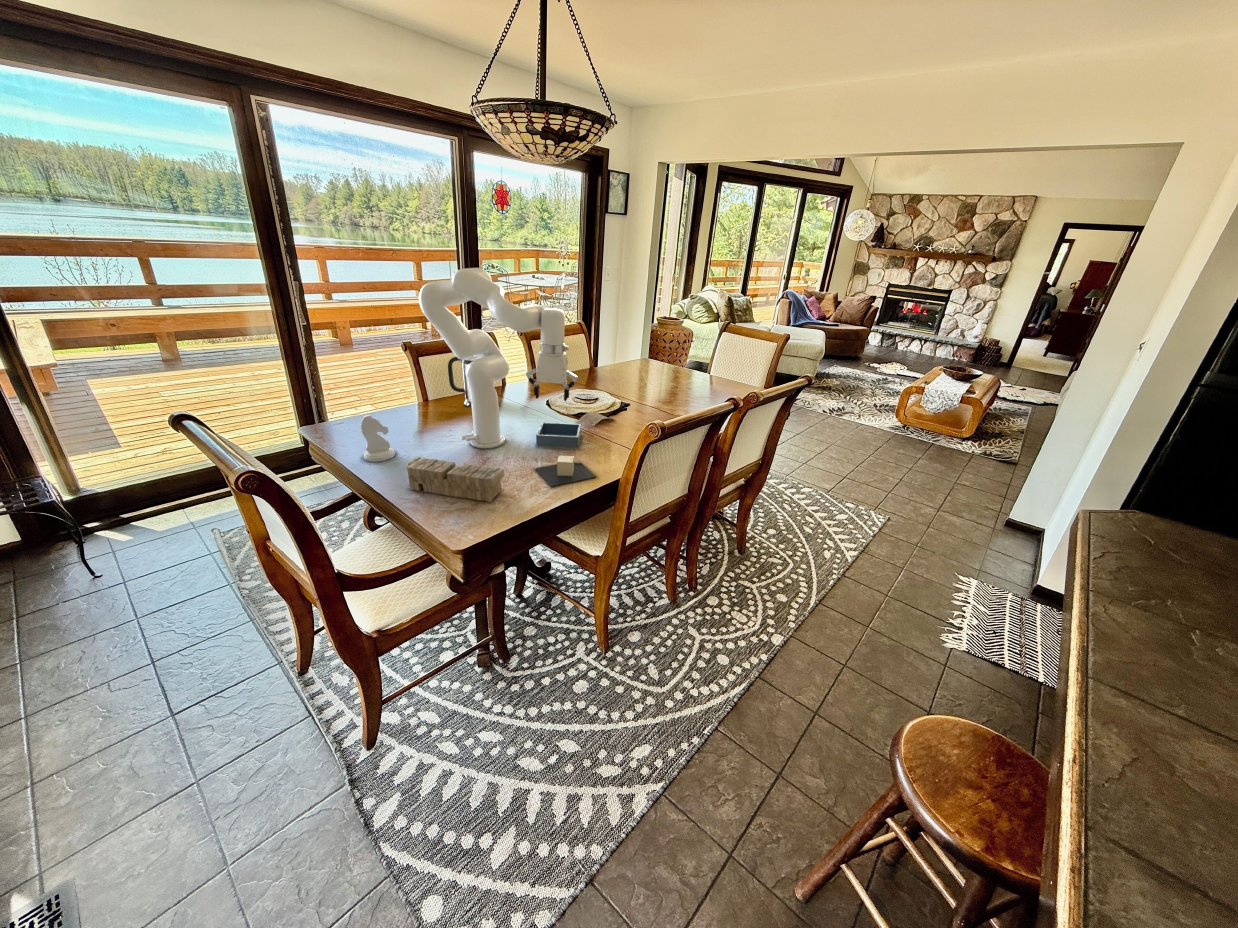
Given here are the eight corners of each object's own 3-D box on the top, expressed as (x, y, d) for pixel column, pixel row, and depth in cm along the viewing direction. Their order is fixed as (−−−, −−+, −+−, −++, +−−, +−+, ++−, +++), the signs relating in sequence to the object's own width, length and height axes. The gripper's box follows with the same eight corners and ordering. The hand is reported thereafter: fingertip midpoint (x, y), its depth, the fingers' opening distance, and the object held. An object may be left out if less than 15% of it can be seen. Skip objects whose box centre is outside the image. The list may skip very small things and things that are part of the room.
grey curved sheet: (592, 428, 199) (592, 422, 198) (575, 422, 205) (575, 416, 204) (615, 420, 209) (616, 415, 208) (599, 414, 215) (599, 409, 214)
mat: (551, 487, 152) (551, 486, 152) (535, 469, 163) (535, 468, 162) (596, 477, 159) (596, 476, 159) (578, 461, 170) (578, 460, 170)
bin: (536, 447, 179) (536, 435, 177) (542, 434, 191) (541, 422, 189) (578, 449, 179) (578, 437, 177) (581, 435, 191) (581, 424, 189)
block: (557, 475, 158) (557, 461, 156) (559, 468, 163) (559, 455, 161) (572, 476, 158) (572, 462, 156) (573, 469, 163) (574, 456, 161)
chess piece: (397, 458, 165) (390, 417, 159) (365, 463, 160) (357, 421, 154) (392, 448, 173) (385, 408, 166) (362, 452, 168) (353, 412, 161)
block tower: (406, 491, 147) (494, 503, 141) (401, 466, 143) (491, 477, 137) (421, 480, 154) (506, 491, 148) (417, 456, 150) (503, 466, 144)
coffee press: (485, 395, 232) (480, 332, 219) (501, 404, 222) (497, 338, 209) (450, 401, 221) (443, 335, 208) (466, 411, 211) (460, 342, 198)
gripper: (580, 348, 160) (577, 397, 167) (528, 343, 160) (528, 393, 167) (577, 353, 153) (575, 404, 161) (523, 348, 153) (524, 399, 161)
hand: (551, 398), depth 164 cm, fingers open, 9 cm apart
